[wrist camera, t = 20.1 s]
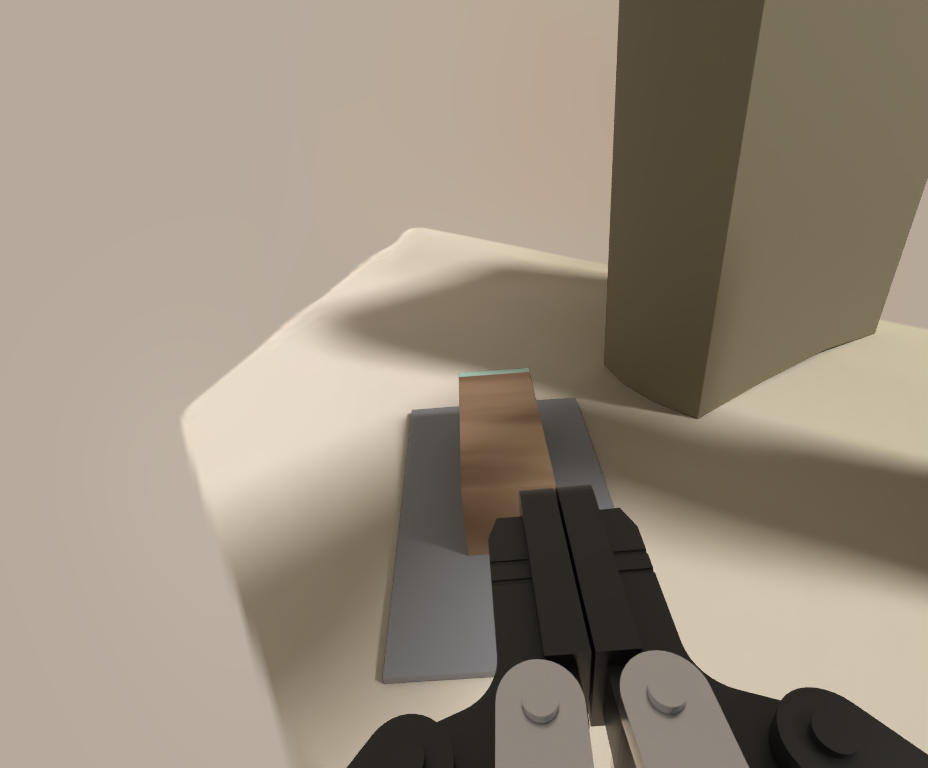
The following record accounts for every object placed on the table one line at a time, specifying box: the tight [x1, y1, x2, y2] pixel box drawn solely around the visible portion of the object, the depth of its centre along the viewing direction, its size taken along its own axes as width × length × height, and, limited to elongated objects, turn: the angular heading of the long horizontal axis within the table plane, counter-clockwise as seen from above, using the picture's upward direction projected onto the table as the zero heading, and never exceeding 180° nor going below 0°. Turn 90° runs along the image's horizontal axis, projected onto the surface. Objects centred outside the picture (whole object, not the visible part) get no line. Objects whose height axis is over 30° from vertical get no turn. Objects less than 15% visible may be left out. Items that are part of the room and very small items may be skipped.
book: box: [604, 0, 928, 419], centre depth 37 cm, size 22×9×28 cm, turn 119°
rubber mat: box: [383, 398, 614, 684], centre depth 32 cm, size 20×12×1 cm, turn 1°
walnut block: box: [459, 368, 556, 556], centre depth 32 cm, size 4×4×11 cm
